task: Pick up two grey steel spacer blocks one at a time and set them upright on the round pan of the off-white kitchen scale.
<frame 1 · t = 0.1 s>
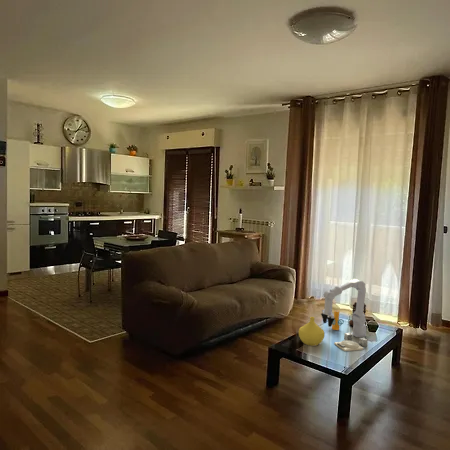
hand: (327, 324, 291), 10 cm above the table, fingers open, 7 cm apart
orange toy figure: (335, 329, 311), on the table
spacer a: (347, 340, 288), on the table
scale: (349, 346, 276), on the table
spacer b: (362, 345, 279), on the table
vase: (310, 343, 279), on the table
scroll: (357, 326, 322), on the table
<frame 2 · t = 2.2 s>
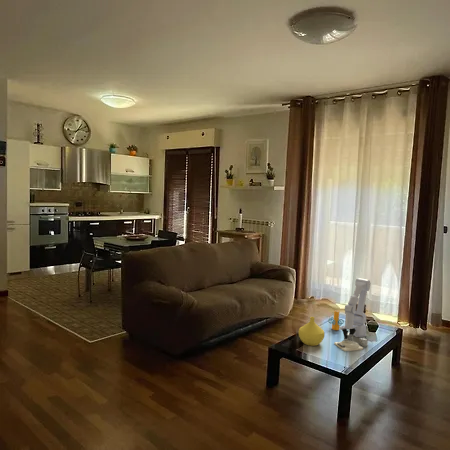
hand: (348, 338, 288), 1 cm above the table, fingers closed on spacer a, 4 cm apart
spacer a: (347, 340, 288), on the table, touching gripper
everything else where it was.
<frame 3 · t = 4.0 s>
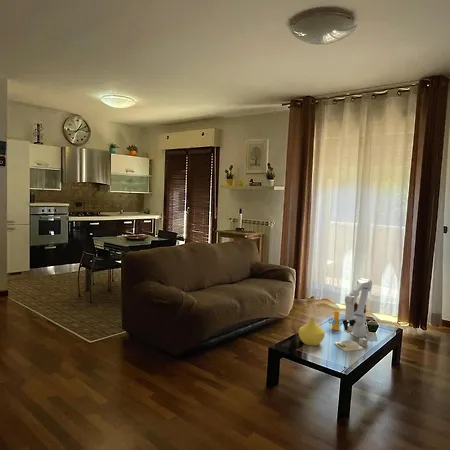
hand: (348, 329, 286), 8 cm above the table, fingers closed on spacer a, 4 cm apart
spacer a: (348, 331, 286), point 7 cm above the table, touching gripper
everything else where it was.
when the fingers open (4 cm above the table, at t = 5.9 s): spacer a stays where it is, resting on scale.
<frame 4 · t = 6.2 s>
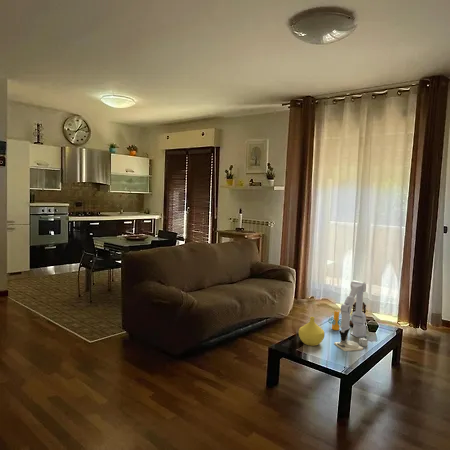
hand: (344, 339, 278), 4 cm above the table, fingers open, 6 cm apart
spacer a: (343, 342, 278), point 2 cm above the table, touching scale
everything else where it was.
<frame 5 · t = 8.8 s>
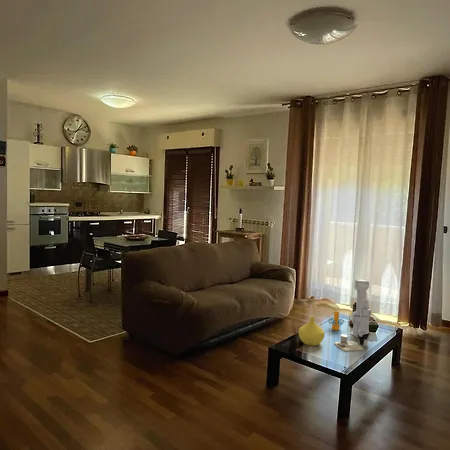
hand: (363, 343, 279), 1 cm above the table, fingers closed on spacer b, 5 cm apart
spacer b: (362, 345, 279), on the table, touching gripper
everything else where it was.
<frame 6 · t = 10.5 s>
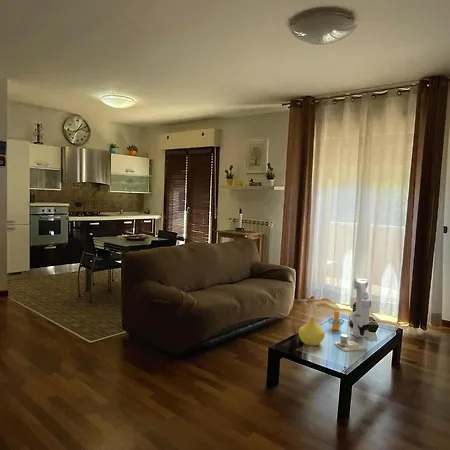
hand: (363, 334, 278), 8 cm above the table, fingers closed on spacer b, 5 cm apart
spacer b: (363, 336, 278), point 7 cm above the table, touching gripper
everything else where it was.
when the fingers open (4 cm above the table, at t = 12.4 s): spacer b stays where it is, resting on scale.
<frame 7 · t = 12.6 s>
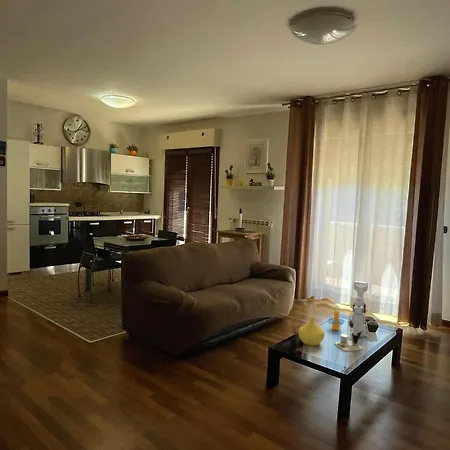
hand: (356, 341, 274), 4 cm above the table, fingers open, 7 cm apart
spacer b: (356, 344, 274), point 2 cm above the table, touching scale
everything else where it was.
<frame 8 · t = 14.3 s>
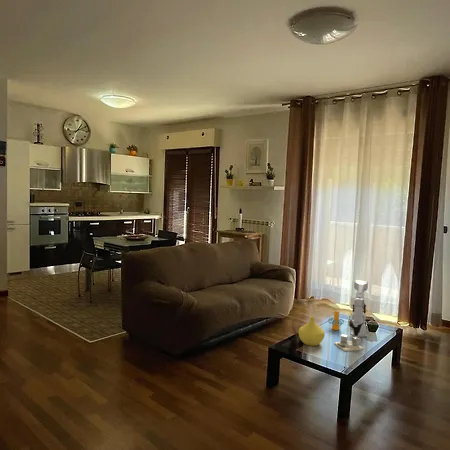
hand: (356, 334, 273), 10 cm above the table, fingers open, 7 cm apart
nothing on the table moved.
at the end: spacer a inside the target area on the scale (4.2 cm from its centre), point 2.2 cm above the scale's base; spacer b inside the target area on the scale (4.2 cm from its centre), point 2.2 cm above the scale's base; spacer b tilted 0° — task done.
